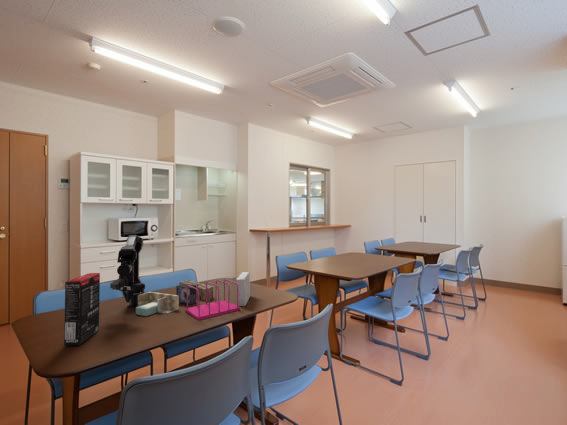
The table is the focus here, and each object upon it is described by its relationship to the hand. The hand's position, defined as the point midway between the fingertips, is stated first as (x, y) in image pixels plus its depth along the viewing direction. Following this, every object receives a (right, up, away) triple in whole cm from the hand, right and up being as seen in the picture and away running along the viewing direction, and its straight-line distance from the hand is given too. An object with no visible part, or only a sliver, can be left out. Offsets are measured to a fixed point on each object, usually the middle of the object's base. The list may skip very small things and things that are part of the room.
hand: (127, 302), depth 157 cm
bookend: (+16, -8, +12) cm, 22 cm away
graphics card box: (-8, -9, -23) cm, 26 cm away
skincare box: (+56, -9, +31) cm, 65 cm away
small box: (+21, -9, +28) cm, 36 cm away
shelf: (+9, -9, +15) cm, 20 cm away
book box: (+7, -9, +11) cm, 16 cm away
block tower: (+23, -9, +44) cm, 50 cm away
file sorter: (+41, -9, +13) cm, 44 cm away
